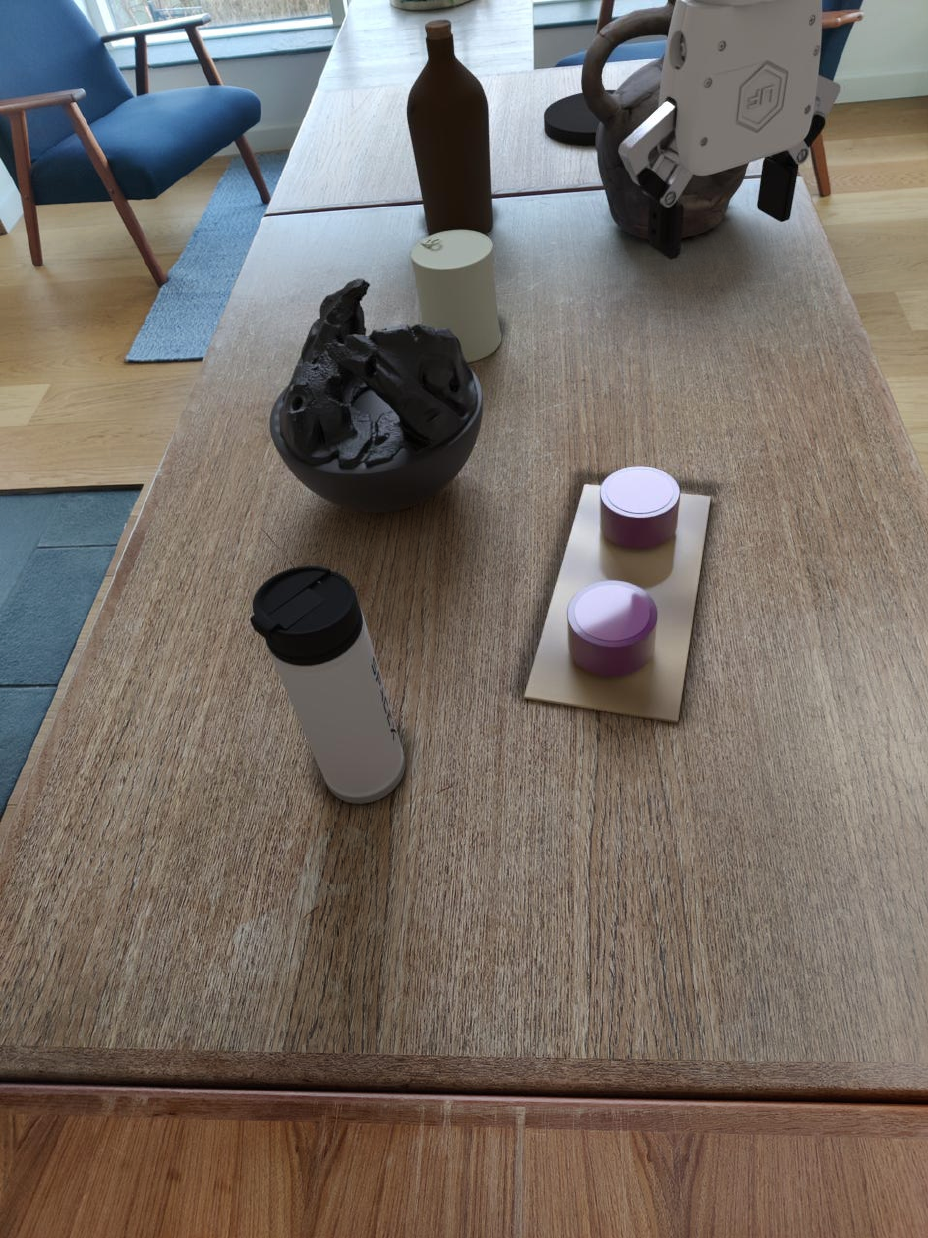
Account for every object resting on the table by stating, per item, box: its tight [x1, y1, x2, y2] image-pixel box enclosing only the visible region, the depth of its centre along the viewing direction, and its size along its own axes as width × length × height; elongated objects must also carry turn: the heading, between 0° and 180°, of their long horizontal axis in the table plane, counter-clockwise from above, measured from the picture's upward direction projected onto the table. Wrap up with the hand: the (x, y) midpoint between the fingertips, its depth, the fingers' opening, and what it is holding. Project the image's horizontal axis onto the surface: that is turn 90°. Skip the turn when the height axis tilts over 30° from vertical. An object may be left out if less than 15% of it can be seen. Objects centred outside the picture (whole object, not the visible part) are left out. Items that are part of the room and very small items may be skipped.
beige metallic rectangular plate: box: [523, 483, 712, 724], centre depth 77 cm, size 26×12×1 cm, turn 164°
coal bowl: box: [269, 277, 484, 513], centre depth 82 cm, size 20×20×19 cm
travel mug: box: [249, 565, 406, 805], centre depth 60 cm, size 6×7×20 cm
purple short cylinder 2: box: [567, 580, 658, 677], centre depth 71 cm, size 7×7×4 cm
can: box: [410, 230, 502, 364], centre depth 101 cm, size 9×9×12 cm
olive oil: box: [406, 19, 494, 236], centre depth 116 cm, size 11×11×25 cm
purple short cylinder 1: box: [599, 465, 681, 549], centre depth 80 cm, size 7×7×5 cm
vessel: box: [580, 0, 750, 240], centre depth 108 cm, size 24×22×30 cm
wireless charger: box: [543, 89, 617, 147], centre depth 144 cm, size 18×18×2 cm
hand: (719, 232), depth 67 cm, fingers open, 9 cm apart
